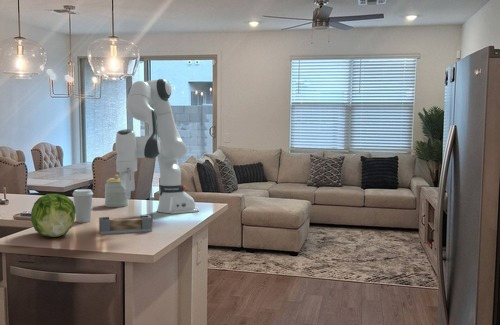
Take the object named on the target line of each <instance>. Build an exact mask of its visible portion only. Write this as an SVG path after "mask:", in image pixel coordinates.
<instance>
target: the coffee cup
mask: <svg viewBox="0 0 500 325" xmlns="http://www.w3.org/2000/svg"><path fill="white" fill-rule="evenodd" d="M93 195H94V192H93V191H92V189H89V188H86V189H85V188H81V189H80V188H79V189H75V190H73V192H72V196H73V203H74V206H75V222H76V223H78V224H79V223H83V224H84V223H85V224H86V223H89V222H91V220H92V219H91V218H92V204H93Z"/></svg>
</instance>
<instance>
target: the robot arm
mask: <svg viewBox="0 0 500 325" xmlns="http://www.w3.org/2000/svg"><path fill="white" fill-rule="evenodd" d="M171 87H172V86H171V83H170V82H169V81H168V80H167V79H165V78H158V79H151V80H147V81H144V80H137V81H134V82H133V83H132V84H131V86H130V87H129V89H128V91H127V100H126V111H127V113H128V114H129V116H130V117H132V118H133V119H135V120H137V121H140V122H144V123H146V124H148V135H146V136H136V133H135V131H134V130H133V129H127V128H126V129H121V130H118V131H117V132H116V134H115V153H116V159H115V164H116V166H115V167H116V172H117V173H118V176H119V178H120V182H121V185H122V186H123V188H124V189H125V196H126V199H128V200H131V195H132V192H134V191H135V190H136V184H135V173H136V172H137V171H138V159H152V160H153V159H155V158H156V157H157V161H158V166H159V185H158V186H159V187H158V194H159V200H158V205H157V210H156V212H159V213H167V214H174V215H175V214H184V213H196V212H200V208H199V207H198V206H196V203H195V200H194V198H193V197H192V196H191V195H190V194H189V193H187V192H185V191H186V190H187V188H188V187H187V186H186V185H183V184H182V182H181V181H182V170H181V167H180V166H179V165H180V164H179V160H180V159H183V158H184V157H185V155H186V154H187V150H188V147H187V145H186V143H185V142H184V140H183V138H182V137H181V135H180V132H179V130H178V128H177V125H176V122H175V117H174V114H173V110H172V106H171V103H170V100H169V99H170V97H171V95H172V88H171Z"/></svg>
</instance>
